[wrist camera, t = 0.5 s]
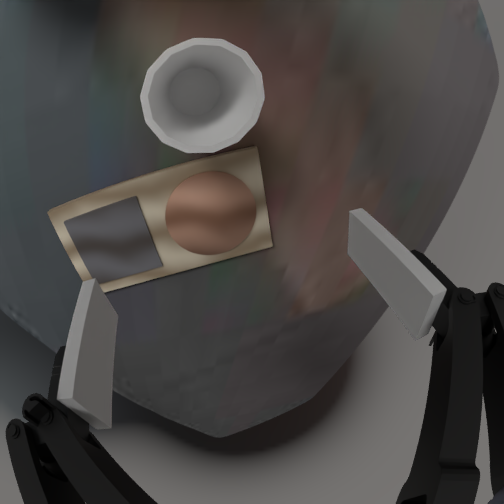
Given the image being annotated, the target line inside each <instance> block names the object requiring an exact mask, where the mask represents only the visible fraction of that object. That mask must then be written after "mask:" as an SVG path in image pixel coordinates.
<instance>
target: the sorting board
mask: <svg viewBox="0 0 504 504" xmlns="http://www.w3.org/2000/svg"><path fill="white" fill-rule="evenodd" d="M48 215H49V217H50V219H51V222H52V224H53V226H54V228H55V230H56V232H57V234H58V236H59V238H60V240H61V242H62V244H63V246H64V248H65V250H66V252H67V253H68V255H69V257H70V259H71V261H72V263H73V265H74V266H75V268H76V270H77V272H78V273H79V275H80V277H81V279H82V280H83V281H87V280H90V279H94V278H96V280H97V282H98V283H99V285H100V287H101V289H102V290H103V292H108V291H112V290H115V289H119V288H123V287H126V286H130V285H134V284H137V283H141V282H145V281H148V280H152V279H156V278H159V277H163V276H167V275H170V274H174V273H178V272H181V271H185V270H189V269H192V268H196V267H200V266H203V265H207V264H210V263H214V262H218V261H221V260H225V259H229V258H232V257H236V256H240V255H243V254H247V253H251V252H254V251H258V250H262V249H265V248H269V247H273V245H272V239H271V232H270V225H269V218H268V211H267V205H266V198H265V192H264V185H263V179H262V172H261V166H260V160H259V154H258V147H256V146H252V147H247V148H242V149H238V150H234V151H229V152H225V153H221V154H217V155H213V156H209V157H205V158H201V159H197V160H193V161H189V162H186V163H182V164H179V165H175V166H171V167H168V168H165V169H161V170H158V171H155V172H151V173H148V174H145V175H142V176H139V177H136V178H133V179H130V180H127V181H124V182H121V183H118V184H115V185H112V186H109V187H106V188H104V189H101V190H98V191H95V192H93V193H90V194H87V195H85V196H82V197H80V198H77V199H74V200H72V201H69V202H67V203H65V204H62V205H60V206H57V207H55V208H53V209H50V210H49V211H48Z"/></svg>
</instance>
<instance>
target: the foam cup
mask: <svg viewBox="0 0 504 504" xmlns="http://www.w3.org/2000/svg"><path fill="white" fill-rule="evenodd" d="M140 99H141V104H142V109H143V113H144V118H145V122H146V124H147V125H148V126H149V127H150V128H151V130H152V131H153V132H154V133H155V134H156V135H157V137H158V138H159V139H160V140H161V141H162V142H163V143H165V144H167V145H169V146H172V147H174V148H176V149H179V150H181V151H183V152H186V153H214V152H216V151H219V150H221V149H223V148H225V147H228V146H230V145H232V144H235V143H237V142H239V141H240V140H241V139H242V138H243V136H244V135H245V134H246V133H247V132H248V131H249V130H250V129H251V128H252V127H253V126H254V125H255V124H256V123H257V120H258V117H259V114H260V111H261V108H262V105H263V102H264V99H265V95H264V88H263V80H262V73H261V72H260V70H259V69H258V67H257V66H256V64H255V63H254V62H253V60H252V59H251V57H250V56H249V55H248V53H247V52H246V51H244V50H242V49H241V48H239V47H237V46H235V45H233V44H231V43H229V42H227V41H225V40H223V39H213V38H192V39H190V40H187V41H185V42H182V43H180V44H177V45H175V46H173V47H170V48H168V49H166V50H165V51H164V52H163V54H162V55H161V56H160V57H159V58H158V59H157V60H156V61H155V62H154V63H153V65H152V66H151V67H150V68H149V69H148V70H147V73H146V77H145V80H144V84H143V87H142V91H141V95H140Z"/></svg>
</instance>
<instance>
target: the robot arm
mask: <svg viewBox="0 0 504 504" xmlns="http://www.w3.org/2000/svg"><path fill="white" fill-rule="evenodd" d="M347 254H348V255H349V256H350V258H351V259H352V260H353V261H354V262H355V264H356V265H357V266H358V267H359V268H360V270H361V271H362V272H363V273H364V275H365V276H366V277H367V278H368V280H369V281H370V282H371V283H372V285H373V286H374V287H375V288H376V290H377V291H378V292H379V293H380V295H381V296H382V297H383V299H384V300H385V301H386V302H387V304H388V305H389V306H390V308H391V309H392V310H393V312H394V313H395V314H396V316H397V317H398V318H399V319H400V321H401V322H402V324H403V325H404V326H405V328H406V329H407V330H408V332H409V333H410V334H411V336H412V337H413V339H414V340H415V341H416V340H418V339H420V338H422V337H423V336H425V335H427V334H428V333H429V330H430V328H431V326H433V327H434V328H435V330H436V331H435V333H434V335H433V337H432V339H431V341H430V344H429V346H431V345H432V343H433V341H434V345H433V356H432V366H431V375H430V383H429V390H428V396H427V403H426V408H425V414H424V419H423V424H422V429H421V434H420V438H419V442H418V446H417V450H416V454H415V458H414V461H413V465H412V468H411V472H410V475H409V477H408V479H407V481H406V483H405V484H404V485H403V487H402V489H401V492H400V494H399V496H398V499H397V502H396V504H474V501H475V497H476V493H477V489H478V485H479V480H480V471H479V469H478V468H477V467H476V465H475V458H476V453H477V445H478V439H479V431H480V422H481V411H482V395H483V397H484V403H485V410H486V418H487V426H488V436H489V450H490V473H491V485H492V490H493V495H494V497H493V499H492V500H490V501H489V502H488V504H504V285H502V284H500V283H492V284H491V285H490V286H489V287H488V290H487V292H484V293H477V294H475V293H474V292H473V291H471V290H470V289H467V288H461V287H460V288H457V287H456V286H455V285H454V284H453V283H452V282H451V281H450V280H449V279H448V278H447V277H446V276H445V275H444V274H443V273H442V272H441V271H440V270H439V269H438V268H437V267H436V266H435V265H434V264H433V263H431V261H430V260H429V259H428V258H427V257H426V256H425V255H424V254H422V253H420V252H418V251H416V250H412V251H409V250H408V249H407V248H406V247H405V246H403V245H402V244H401V243H400V242H399V241H398V240H397V239H396V238H395V237H394V236H393V235H392V234H391V233H390V232H388V231H387V230H386V229H385V228H384V227H383V226H382V225H381V224H380V223H378V222H377V221H376V220H375V219H374V218H373V217H372V216H371V215H369V214H368V213H367V212H366V211H365V210H364V209H362V208H359V209H355V210H351V211H349V234H348V252H347ZM117 321H118V315H117V313H116V312H115V310H114V308H113V307H112V305H111V304H110V302H109V300H108V299H107V297H106V295H105V294H104V292H103V290H102V289H101V287H100V285H99V283H98V282H97V280H96V278H94V279H90V280H87V281H83V283H82V287H81V290H80V293H79V297H78V300H77V304H76V308H75V311H74V315H73V319H72V323H71V327H70V331H69V335H68V340H67V344H66V346H62V347H60V349H59V351H58V353H57V354H56V356H55V361H54V368H53V371H52V377H51V381H50V387H49V393H48V400H47V399H45V398H44V397H43V396H42V395H41V394H37V393H35V394H31V395H30V396H28V398H27V399H26V400H25V402H24V404H23V408H22V414H23V417H24V418H25V419H26V420H28V421H29V422H27V423H24V422H22V421H21V420H19V419H13V420H11V421H10V422H9V424H8V425H7V428H6V440H7V445H8V449H9V454H10V458H11V462H12V466H13V470H14V473H15V477H16V480H17V483H18V486H19V490H20V493H21V495H22V499H23V501H24V504H85V502H86V504H157V502H155V501H154V500H153V499H152V498H151V497H150V496H149V495H148V494H147V493H146V492H145V491H143V489H142V488H141V487H139V486H138V485H137V484H136V483H135V481H134V480H132V478H131V477H130V476H129V475H128V474H127V473H126V472H125V471H124V470H123V469H122V468H121V467H120V466H119V465H118V463H117V462H116V461H115V460H114V459H113V458H112V457H111V455H110V454H109V453H108V452H107V451H106V450H105V449H104V447H103V446H102V445H101V444H100V442H99V441H98V440H97V439H96V438H95V436H94V435H93V434H92V433H91V432H90V431H89V424H90V425H92V426H93V427H94V428H96V429H108V428H111V425H112V424H111V422H112V421H111V419H112V417H111V416H112V381H113V364H114V351H115V340H116V330H117ZM494 328H495V329H496V331H497V333H496V332H495V329H494ZM84 501H85V502H84Z"/></svg>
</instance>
